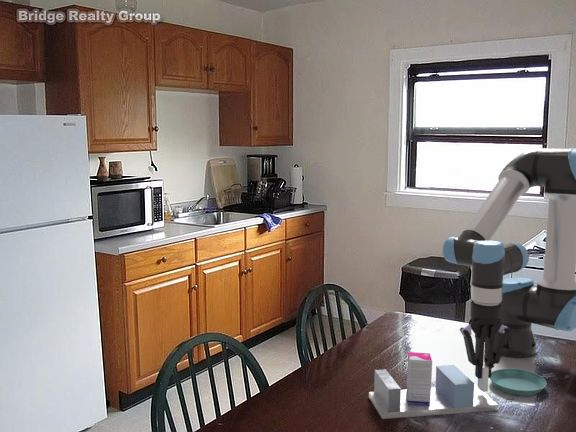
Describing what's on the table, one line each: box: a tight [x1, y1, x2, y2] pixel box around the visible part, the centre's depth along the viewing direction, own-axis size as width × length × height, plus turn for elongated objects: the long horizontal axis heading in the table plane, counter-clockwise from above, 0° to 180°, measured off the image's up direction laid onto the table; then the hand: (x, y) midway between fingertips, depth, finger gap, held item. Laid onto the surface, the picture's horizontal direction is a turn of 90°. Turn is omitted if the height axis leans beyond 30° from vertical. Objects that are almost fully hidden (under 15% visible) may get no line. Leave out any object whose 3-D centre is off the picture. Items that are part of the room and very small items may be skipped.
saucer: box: [489, 368, 548, 397], centre depth 160 cm, size 15×15×3 cm
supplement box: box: [406, 351, 433, 404], centre depth 149 cm, size 6×6×12 cm
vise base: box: [368, 368, 499, 420], centre depth 150 cm, size 30×12×8 cm, turn 98°
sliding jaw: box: [435, 364, 475, 408], centre depth 150 cm, size 5×12×6 cm, turn 8°
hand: (482, 389), depth 152 cm, fingers closed
